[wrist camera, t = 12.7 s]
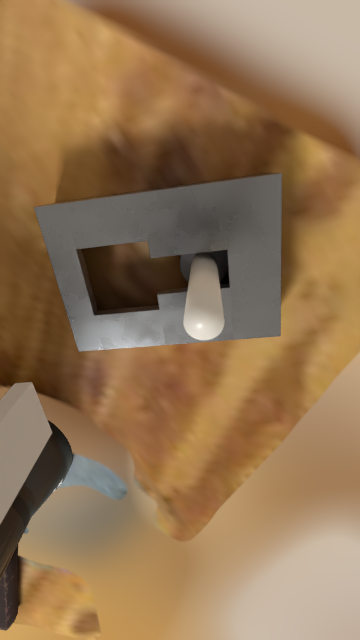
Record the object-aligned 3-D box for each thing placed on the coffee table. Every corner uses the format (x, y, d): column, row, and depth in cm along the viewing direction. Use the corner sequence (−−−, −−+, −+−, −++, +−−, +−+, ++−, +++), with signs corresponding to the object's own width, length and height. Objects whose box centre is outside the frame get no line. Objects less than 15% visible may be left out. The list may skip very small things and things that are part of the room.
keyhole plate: (91, 333, 35) (78, 351, 32) (54, 202, 29) (33, 207, 26) (272, 317, 33) (280, 336, 29) (271, 172, 27) (281, 173, 23)
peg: (183, 284, 32) (170, 358, 19) (178, 239, 30) (159, 289, 18) (229, 279, 32) (245, 353, 19) (226, 233, 30) (241, 281, 17)
